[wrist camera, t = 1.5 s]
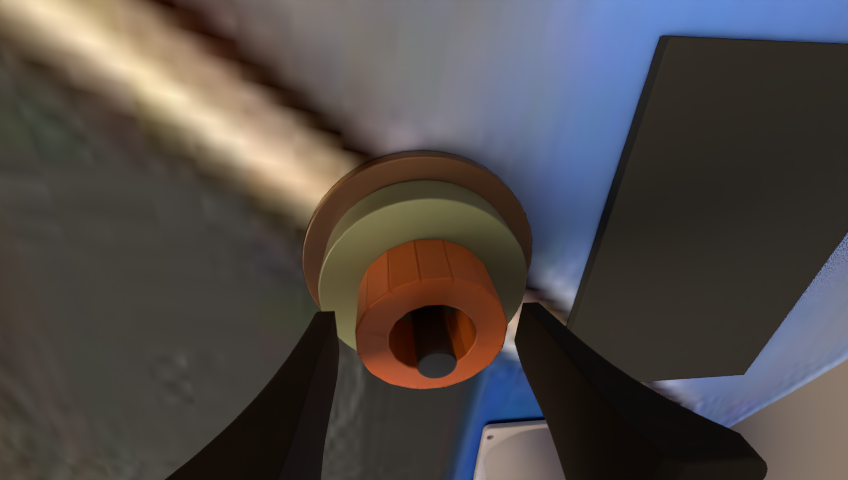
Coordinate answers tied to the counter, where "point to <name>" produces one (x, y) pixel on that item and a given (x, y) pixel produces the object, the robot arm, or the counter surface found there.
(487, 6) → the counter surface
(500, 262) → the ring stand
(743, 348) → the mat
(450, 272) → the ring
